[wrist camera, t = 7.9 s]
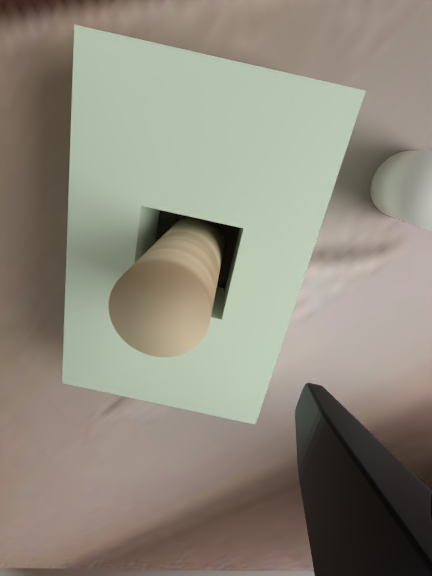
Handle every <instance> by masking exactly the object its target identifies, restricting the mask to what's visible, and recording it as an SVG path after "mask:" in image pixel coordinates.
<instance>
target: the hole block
mask: <svg viewBox="0 0 432 576" xmlns="http://www.w3.org/2000/svg"><path fill="white" fill-rule="evenodd" d="M365 92H366V91H365V90H361V89H356V88H352V87H348V86H343V85H339V84H334V83H330V82H325V81H321V80H317V79H312V78H308V77H303V76H299V75H295V74H290V73H286V72H281V71H277V70H273V69H268V68H264V67H259V66H255V65H251V64H246V63H242V62H237V61H233V60H228V59H224V58H220V57H215V56H211V55H206V54H202V53H198V52H193V51H189V50H184V49H180V48H176V47H171V46H167V45H162V44H158V43H154V42H149V41H145V40H140V39H136V38H131V37H127V36H123V35H118V34H114V33H109V32H105V31H101V30H96V29H92V28H87V27H83V26H79V25H74V49H73V78H72V108H71V137H70V166H69V196H68V225H67V255H66V284H65V314H64V343H63V372H62V383H64V384H68V385H73V386H78V387H82V388H87V389H92V390H96V391H101V392H106V393H110V394H115V395H120V396H124V397H129V398H134V399H138V400H143V401H148V402H152V403H157V404H162V405H166V406H171V407H176V408H180V409H185V410H190V411H194V412H199V413H204V414H208V415H213V416H218V417H222V418H227V419H232V420H236V421H241V422H246V423H250V424H255V425H256V422H257V419H258V416H259V413H260V410H261V407H262V404H263V401H264V398H265V395H266V392H267V389H268V386H269V383H270V380H271V377H272V373H273V370H274V367H275V364H276V361H277V358H278V355H279V352H280V349H281V346H282V343H283V340H284V337H285V334H286V331H287V328H288V325H289V322H290V319H291V316H292V313H293V310H294V307H295V304H296V301H297V298H298V295H299V292H300V289H301V286H302V283H303V280H304V277H305V273H306V270H307V267H308V264H309V261H310V258H311V255H312V252H313V249H314V246H315V243H316V240H317V237H318V234H319V231H320V228H321V225H322V222H323V219H324V216H325V213H326V210H327V207H328V204H329V201H330V198H331V195H332V192H333V189H334V186H335V183H336V180H337V177H338V174H339V170H340V167H341V164H342V161H343V158H344V155H345V152H346V149H347V146H348V143H349V140H350V137H351V134H352V131H353V128H354V125H355V122H356V119H357V116H358V113H359V110H360V107H361V104H362V101H363V98H364V95H365ZM160 210H162V211H167V212H171V213H176V214H180V215H185V216H189V217H194V218H198V219H203V220H207V221H212V222H217V223H221V224H226V225H230V226H235V227H239V228H240V229H239V233H238V237H237V242H236V246H235V250H234V254H233V259H232V263H231V267H230V271H229V276H228V280H227V284H226V288H221V287H217V288H216V293H215V298H214V303H213V309H212V314H211V319H210V324H209V328H208V331H207V333H206V335H205V336H204V338H203V339H202V341H201V342H200V343H199V344H198V345H197V346H196V347H194V348H193V349H192V350H190V351H188V352H186V353H184V354H181V355H178V356H173V357H156V356H151V355H147V354H144V353H142V352H139V351H138V350H136V349H134V348H132V347H131V346H129V345H128V344H127V343H126V342H125V341H124V340H123V339H122V338H121V337H120V336H119V334H118V333H117V332H116V330H115V328H114V327H113V324H112V322H111V319H110V315H109V297H110V294H111V290H112V288H113V287H114V285H115V283H116V282H117V280H118V279H119V278H120V277H121V276H122V275H123V274H124V273H125V272H126V271H127V270H128V269H129V268H130V267H131V266H132V265H133V264H134V263H135V262H136V261H137V260H138V259H140V258H141V257H142V256H143V255H144V254H145V253H146V252H147V251H148V250H149V249H150V248H151V247H152V246H153V245H154V244H155V243H156V236H157V229H158V221H159V214H160Z"/></svg>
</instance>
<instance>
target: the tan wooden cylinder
mask: <svg viewBox="0 0 432 576" xmlns="http://www.w3.org/2000/svg"><path fill="white" fill-rule="evenodd" d="M223 251H224V237H223V234H222V232H221V230H220V228H219V227H218V226H217V225H216V223H214V222H212V221H207V220H203V219H198V218H194V217H189V216H186V217H184V218H182V219H180V220H178V221H177V222H176V223H175V224H174V225H173V226H172V227H171V228H170V229H169V230H168V231H167V232H166V233H165V234H164V235H163V236H162V237H161V238H160V239H159V240H158V241H157V242H156V243H155V244H154V245H153V246H152V247H151V248H150V249H149V250H148V251H147V252H146V253H145V254H144V255H143V256H142V257H141V258H140V259H138V260H137V261H136V262H135V263H134V264H133V265H132V266H131V267H130V268H129V269H128V270H127V271H126V272H125V273H124V274H123V275H122V276H121V277H120V278H119V279H118V280H117V282H116V283H115V285H114V287H113V288H112V290H111V294H110V297H109V315H110V319H111V322H112V324H113V327H114V328H115V330H116V332H117V333H118V334H119V336H120V337H121V338H122V339H123V340H124V341H125V342H126V343H127V344H128V345H129V346H131V347H132V348H134V349H136V350H138V351H139V352H142V353H144V354H147V355H151V356H156V357H173V356H178V355H181V354H184V353H186V352H188V351H190V350H192V349H193V348H194V347H196V346H197V345H198V344H199V343H200V342H201V341H202V339H203V338H204V336H205V335H206V333H207V331H208V328H209V324H210V319H211V314H212V309H213V303H214V298H215V293H216V288H217V283H218V277H219V272H220V267H221V262H222V257H223Z"/></svg>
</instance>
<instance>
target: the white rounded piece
mask: <svg viewBox="0 0 432 576" xmlns="http://www.w3.org/2000/svg"><path fill="white" fill-rule="evenodd" d="M370 193H371V199H372V201H373V203H374V205H375V207H376V208H377V209H378V210H379V211H380V212H382V213H383V214H386V215H388V216H390V217H393V218H396V219H398V220H401V221H403V222H406V223H408V224H411V225H414V226H416V227H419V228H421V229H425V230H430V231H432V150H413V151H403V152H399V153H397V154H394V155H392V156H390V157H389V158H388V159H386V160H385V161H384V162H383V163H382V164H381V165H380V166H379V167H378V169H377V170H376V172H375V174H374V176H373V178H372V182H371V187H370Z"/></svg>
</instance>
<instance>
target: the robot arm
mask: <svg viewBox="0 0 432 576" xmlns="http://www.w3.org/2000/svg"><path fill="white" fill-rule="evenodd" d="M295 423H296V443H297V462H298V473H299V481H300V487H301V493H302V499H303V505H304V511H305V518H306V524H307V530H308V536H309V542H310V548H311V554H312V561H313V567H314V573H315V576H432V493H431V491H430V490H429V489H428V488H427V487H426V486H425V485H424V484H423V483H422V482H421V481H420V480H419V479H418V478H417V477H416V476H415V475H414V474H413V473H412V472H411V471H410V470H409V469H408V468H407V467H406V466H405V465H403V464H402V463H401V462H400V461H399V460H398V459H397V458H396V457H395V456H394V455H393V454H392V453H391V452H390V451H389V450H388V449H387V448H386V447H385V446H384V445H383V444H382V443H381V442H380V441H379V440H378V439H377V438H376V437H374V436H373V435H372V434H371V433H370V432H369V431H368V430H367V429H366V428H365V427H364V426H363V425H362V424H361V423H360V422H359V421H358V420H357V419H356V418H355V417H354V416H353V415H352V414H351V413H350V412H349V411H348V410H347V409H345V408H344V407H343V406H342V405H341V404H340V403H339V402H338V401H337V400H336V399H335V398H334V397H333V396H332V395H331V394H330V393H329V392H328V391H327V390H326V389H325V388H324V387H323V386H321V385H316V384H312V383H307V384H305V386H304V388H303V390H302V393H301V395H300V398H299V401H298V403H297V406H296V410H295Z"/></svg>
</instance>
